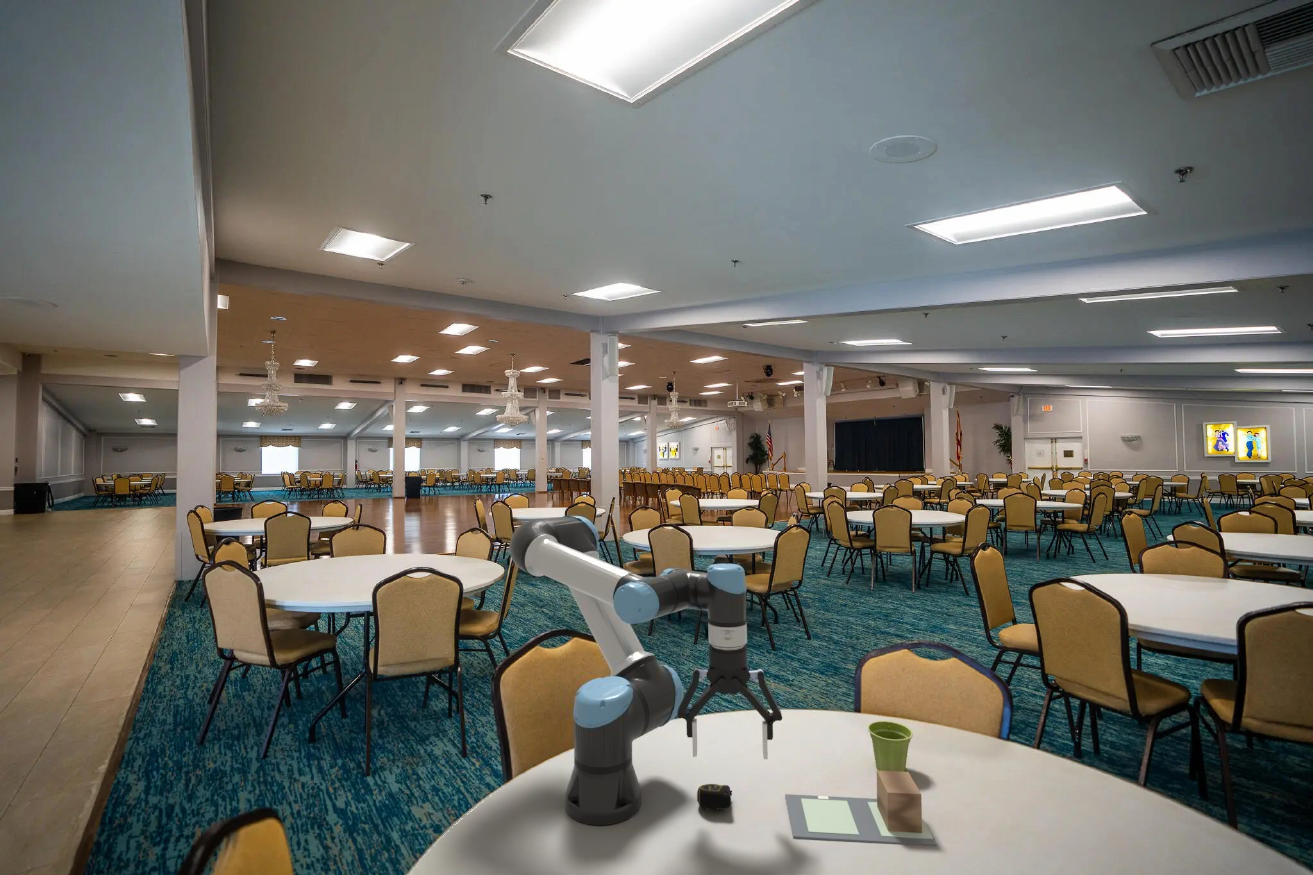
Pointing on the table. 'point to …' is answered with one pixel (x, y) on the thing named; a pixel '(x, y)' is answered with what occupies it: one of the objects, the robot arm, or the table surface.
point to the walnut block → (899, 801)
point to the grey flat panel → (845, 821)
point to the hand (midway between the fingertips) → (729, 754)
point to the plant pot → (890, 745)
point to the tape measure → (714, 796)
